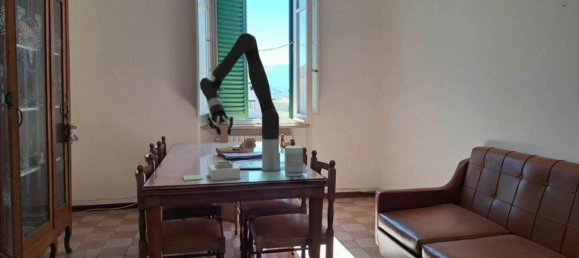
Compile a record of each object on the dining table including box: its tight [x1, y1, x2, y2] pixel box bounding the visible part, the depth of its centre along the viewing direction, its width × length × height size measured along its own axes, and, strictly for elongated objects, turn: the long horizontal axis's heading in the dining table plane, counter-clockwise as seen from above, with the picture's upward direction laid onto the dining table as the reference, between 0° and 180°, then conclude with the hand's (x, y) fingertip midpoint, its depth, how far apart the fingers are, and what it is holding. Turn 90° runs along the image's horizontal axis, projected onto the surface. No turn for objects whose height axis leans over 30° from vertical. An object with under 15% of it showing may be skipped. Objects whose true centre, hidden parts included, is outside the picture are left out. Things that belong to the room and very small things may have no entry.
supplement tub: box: [284, 145, 304, 178], centre depth 219 cm, size 10×10×15 cm
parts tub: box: [207, 160, 242, 181], centre depth 216 cm, size 16×13×7 cm
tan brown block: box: [218, 122, 229, 144], centre depth 213 cm, size 5×5×10 cm
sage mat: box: [182, 174, 204, 182], centre depth 211 cm, size 9×9×1 cm
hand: (224, 133), depth 212 cm, fingers closed on tan brown block, 4 cm apart
